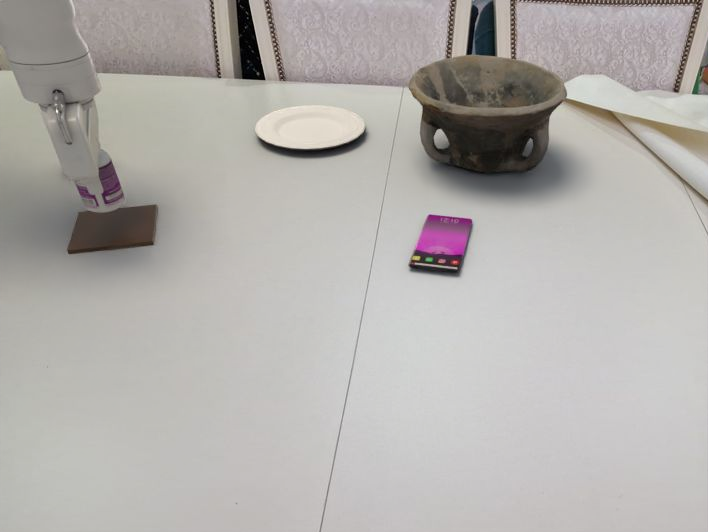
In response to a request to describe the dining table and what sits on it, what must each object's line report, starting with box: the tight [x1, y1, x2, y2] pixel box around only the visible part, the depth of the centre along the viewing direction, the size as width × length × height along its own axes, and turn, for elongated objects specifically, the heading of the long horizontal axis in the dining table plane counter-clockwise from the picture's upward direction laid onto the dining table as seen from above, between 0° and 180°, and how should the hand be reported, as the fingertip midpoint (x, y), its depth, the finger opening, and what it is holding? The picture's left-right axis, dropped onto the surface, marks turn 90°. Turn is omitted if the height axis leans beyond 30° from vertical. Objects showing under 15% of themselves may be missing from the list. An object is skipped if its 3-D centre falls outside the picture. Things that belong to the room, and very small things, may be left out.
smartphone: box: [407, 213, 473, 274], centre depth 92 cm, size 7×15×1 cm, turn 172°
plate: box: [254, 104, 366, 151], centre depth 119 cm, size 21×21×2 cm
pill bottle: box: [67, 138, 126, 213], centre depth 85 cm, size 5×5×10 cm
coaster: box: [66, 203, 158, 255], centre depth 91 cm, size 11×11×1 cm
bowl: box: [408, 54, 568, 174], centre depth 109 cm, size 27×26×15 cm
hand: (97, 181), depth 86 cm, fingers closed on pill bottle, 5 cm apart
